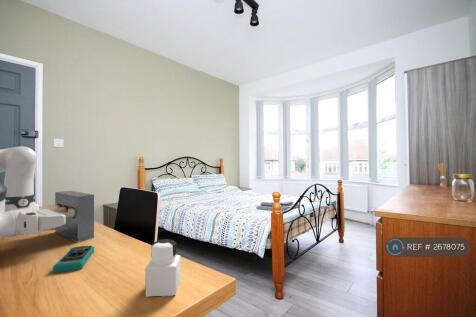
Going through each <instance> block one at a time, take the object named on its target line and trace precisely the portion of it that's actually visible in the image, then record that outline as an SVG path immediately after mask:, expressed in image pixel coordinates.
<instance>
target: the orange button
mask: <svg viewBox="0 0 476 317" xmlns="http://www.w3.org/2000/svg"><path fill="white" fill-rule="evenodd" d="M64 211H68V209H67V207H60V208H58V209H57V212H64Z"/></svg>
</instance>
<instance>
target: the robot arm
mask: <svg viewBox="0 0 476 317" xmlns="http://www.w3.org/2000/svg"><path fill="white" fill-rule="evenodd" d="M37 159H38V155H37V153H36V152H35V151H34V149H32V148H30V147H27V146H23V145H22V146H13V147H8V148H3V149H0V174H1V173H4V172H5V174H4V180H3V183H1V182H0V239H2V238H8V237H9V238H11V237H17V236H18V237H19V236H24V235H36V234H38V233H39V232H43V231H47V230H52V229H55V228H56V227H59V226H62V225H64V224H65V223H66V217H70V216H71V212H68V211H64V212H54V211H51V209H49V208H39V207H40V206H39V204H38V203H36V202H35V201H36V194H35V192H34V191H35V174H36V169H37Z"/></svg>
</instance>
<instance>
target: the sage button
mask: <svg viewBox="0 0 476 317" xmlns="http://www.w3.org/2000/svg"><path fill="white" fill-rule="evenodd" d="M68 212H71V216H70V217H69V218H73V217H75V208H72V209H68Z"/></svg>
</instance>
